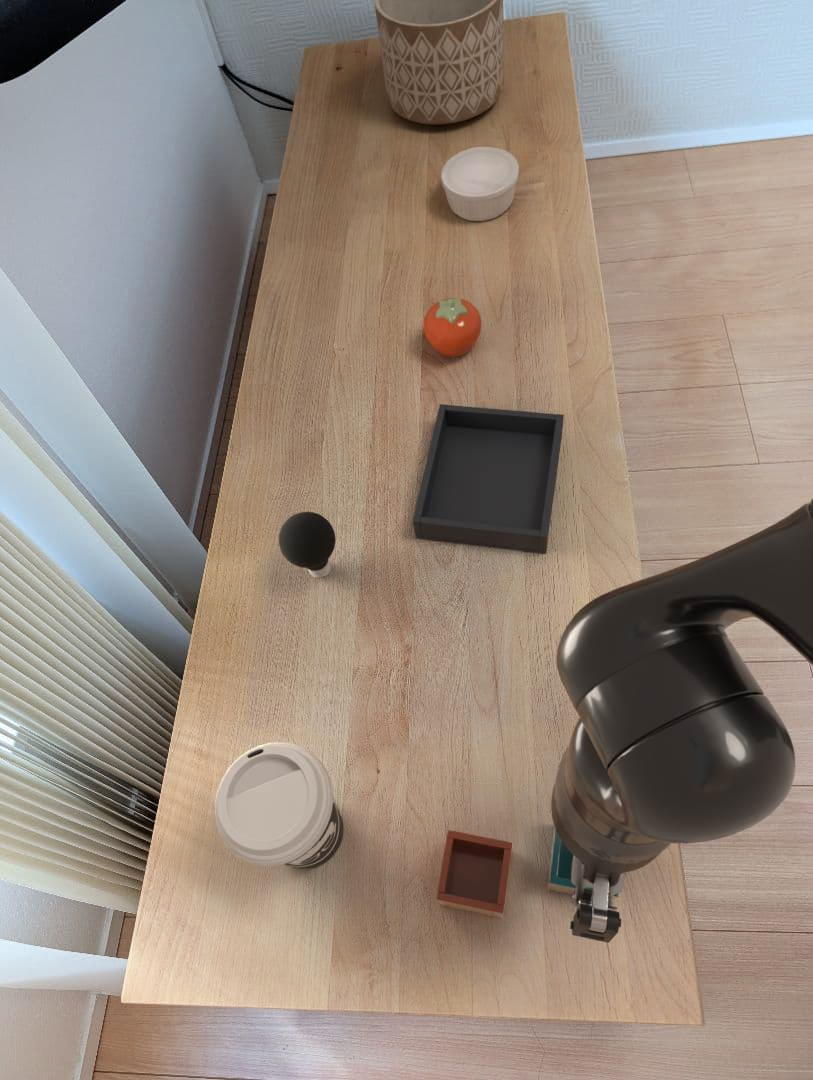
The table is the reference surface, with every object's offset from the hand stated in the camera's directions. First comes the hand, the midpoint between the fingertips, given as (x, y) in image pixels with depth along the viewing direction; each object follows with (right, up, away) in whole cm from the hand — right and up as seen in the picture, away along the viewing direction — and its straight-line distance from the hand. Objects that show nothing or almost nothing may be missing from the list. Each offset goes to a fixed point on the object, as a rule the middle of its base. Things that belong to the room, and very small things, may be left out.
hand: (592, 842), depth 60 cm
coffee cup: (-24, -4, +13) cm, 27 cm away
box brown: (-8, -7, +9) cm, 14 cm away
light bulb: (-24, +20, +27) cm, 41 cm away
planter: (-8, +97, +70) cm, 120 cm away
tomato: (-8, +49, +42) cm, 65 cm away
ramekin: (-3, +74, +56) cm, 92 cm away
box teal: (+1, -5, +9) cm, 10 cm away
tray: (-5, +30, +30) cm, 43 cm away
